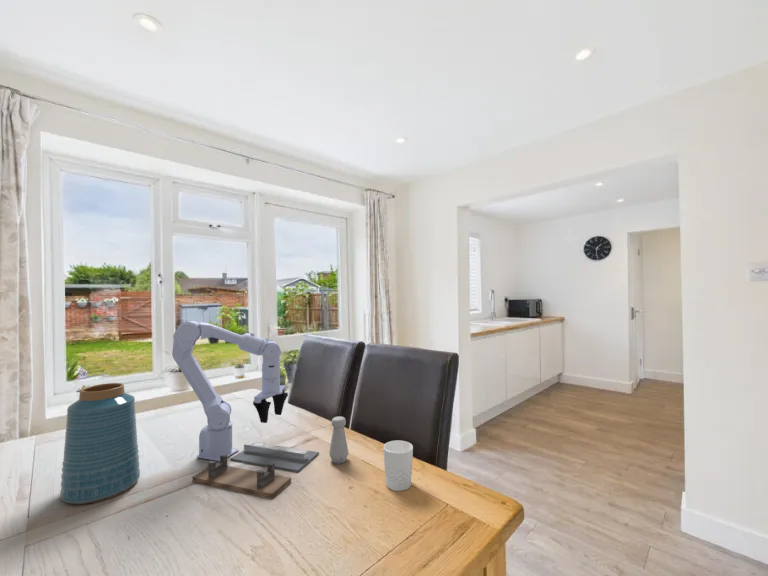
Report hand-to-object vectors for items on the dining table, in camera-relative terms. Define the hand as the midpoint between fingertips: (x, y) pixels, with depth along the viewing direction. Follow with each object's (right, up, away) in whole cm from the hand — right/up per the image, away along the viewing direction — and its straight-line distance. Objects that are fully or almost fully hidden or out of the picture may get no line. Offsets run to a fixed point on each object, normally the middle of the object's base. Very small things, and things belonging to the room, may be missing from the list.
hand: (271, 418), depth 117 cm
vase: (-37, -10, -25) cm, 45 cm away
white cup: (+42, -9, -24) cm, 49 cm away
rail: (+4, -9, -8) cm, 12 cm away
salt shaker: (+24, -9, -10) cm, 28 cm away
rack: (-1, -9, -22) cm, 24 cm away
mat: (+4, -9, -8) cm, 13 cm away
